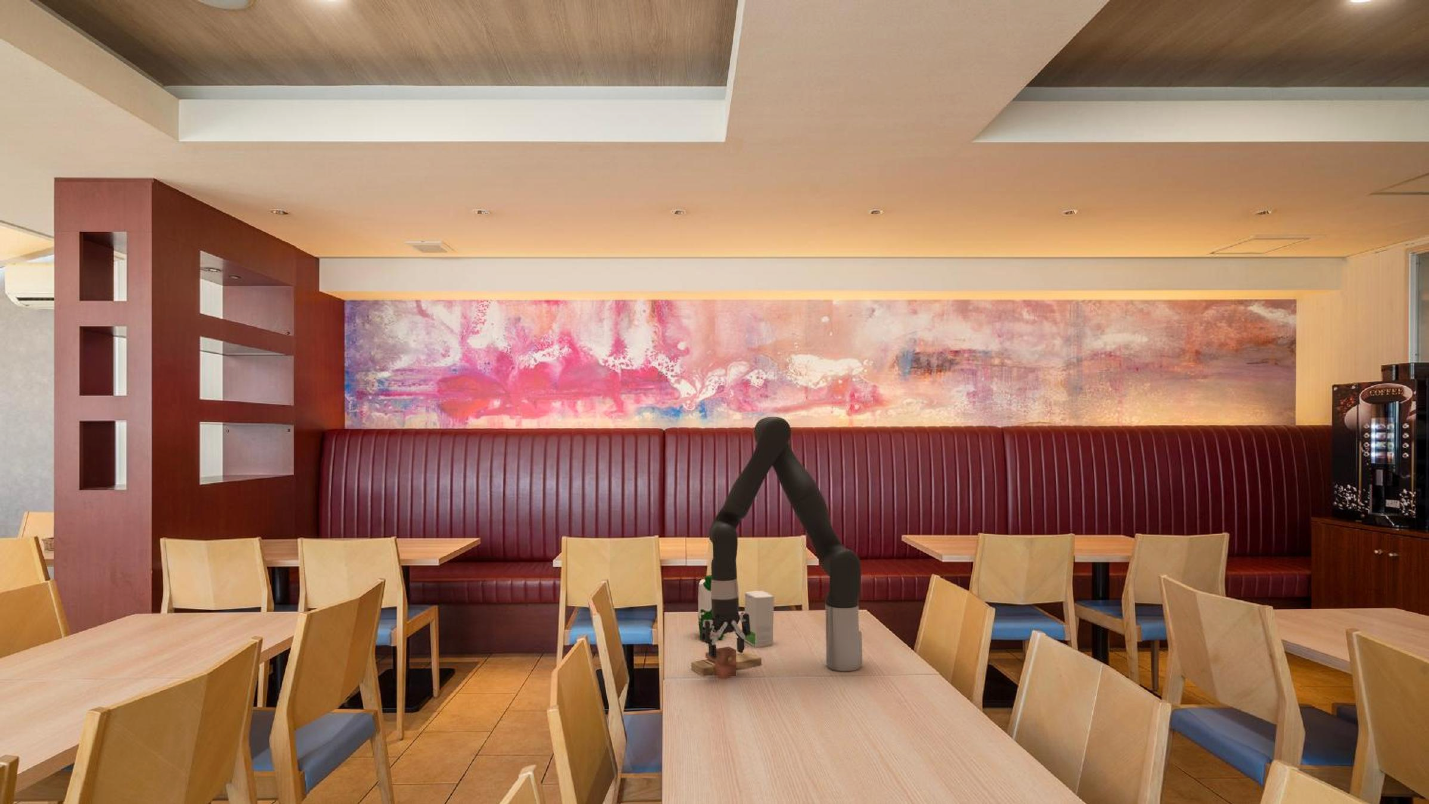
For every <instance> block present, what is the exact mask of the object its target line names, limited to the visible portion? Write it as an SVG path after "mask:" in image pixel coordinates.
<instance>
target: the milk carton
mask: <svg viewBox="0 0 1429 804" xmlns="http://www.w3.org/2000/svg"><path fill="white" fill-rule="evenodd" d="M711 582H712V576H711V574H707V575H705V576H704V578H703V579H701V580H699V583H698V587H697V588H698V590H697V591H698V593H697V601H698V602H697V603H698V605H697V606H698V607H697V608H698V609H697V610H698V613H697V614H698V616H697V617H698V618H697V619H698V622H697V623H698V629H699V631H698V632H699V638H700V639H699V640H701V637H702V620H703V619H705V620H711V619H712V616H713V615H712V604H711ZM713 627H714V626H713V625H711V628H710V634H711V631H712V629H713ZM717 632H718V631H716V633H717ZM724 635H725V634H721V636H720V638H718V640H717V641H722V640H723V639H724ZM701 641H702V640H701Z"/></svg>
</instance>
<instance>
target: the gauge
mask: <svg viewBox="0 0 1429 804" xmlns="http://www.w3.org/2000/svg"><path fill="white" fill-rule="evenodd" d="M704 654H705V655H704V656H705V657H704V658H706V659H709V660H711V661H713V662H715V674H714V676H716V677H718V678H719V679H722V680H723V679H724V680H725V679H729V678H734V677H737V670H736V654H737V649H735V648H733V647H730V646H728V645H727V646H723V647H716V654H717V658H715V659H713V658H711V656H709V651H707V652H704Z"/></svg>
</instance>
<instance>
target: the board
mask: <svg viewBox="0 0 1429 804" xmlns="http://www.w3.org/2000/svg"><path fill="white" fill-rule="evenodd" d="M762 663H763V662H762V657H761V656H759V655H757V654H754V653H753V652H750V651H745V652H744V651H743V653H739V652H738V653H736V671H738V670H742V669H748V668H752V667H757V666H761V665H762ZM690 670H692V672H696V673H697V674H699V675H700V676H702V677H706V676H711V675H715V662H713V661H711V660H709V659H707V658H706V659H700V660H696V661H694V660H693V661H691V662H690Z"/></svg>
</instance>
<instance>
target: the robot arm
mask: <svg viewBox="0 0 1429 804" xmlns="http://www.w3.org/2000/svg"><path fill="white" fill-rule="evenodd" d="M753 436H754V439H755V441H756V446H755V449H754V450H753V452H752V454H751V457H750V458H749V460H748V462H747V464H746V465H745V466H744V468H743V470H742V471H741V473H740V474H739V475H738V477H737V478H736V480H735V481H734V483H733V485H732V487H731V489H730V491H729V492H728V494H727V497H726V499H725V500H724V504H723V506H722V508H721V509H720V510H719V512H718V513H717V514H716V516H715V518H714V519H713V521H712V523H711V525H710V527H709V530H708V538H709V540H710V542H711V543H712V559H711V564H710V565H711V566H710V571H711V573H710V575H711V576H712V582H711V604H712V615H713V616H712V619H711V620H705V619H703V620H702V637H701V642H703V643H705V644H708V652H709V656H711V658H713V659H715V658H717V654H716V649H717V644H716V643H717V641H719V640H718V638H720V636H721V634H724V635H726V634H729V633H730V634H733V633H734V634H735V635H736V652H738V653H743V652H744V651H745V648H746V646H745V641H744V638H745V637H746V636H747V635H748V636H749V635H750V634H751V632H750V621H749V614H747V613H745V611H744V612H741V613H739V612H740V602H739V601H740V599H739V593H740V592H739V583H738V568H737V567H738V566H737V557H738V546H739V545H738V531H737V529H738V526H739V525H740V523H741V521H742V519H745V518H746V517H747V514H749V511H750V510H751V507H752V505H753V503H754V501H755V499H756V496H757V495H758V493H759V490H760V488H761V486H762V484H763V482H764V481H765V479H766V477H767V475H768V473H769V471H770V470H771V468H772V469H773V470H774V473H775V474H776V477H777V479H778V482H779V484H780V485H781V488H782V489H783V491H784V494H785V496H786V498H787V501H788V503H789V504H790V507H792V510H793V512H794V514H795V515H796V517H797V519H798V520H799V522H800V524H801V526H802V527H803V529H804V531H805V533H806V534H807V536H808V537H809V540H810V542H811V543H812V546H813V548H814V551H815V552H816V555H817V558H818V560H819V563H820V566H821V569H822V570H823V572H824V573H825V574H826V575H827V576H829V588H828V589H829V590H828V592H826V594H825V601H824V602H825V603H824V604H825V605H824V606H825V607H824V608H825V655H826V656H825V657H826V658H825V659H826V660H825V661H826V663H825V664H826V667H827V668H828V669H830V670H834V671H839V672H851V671H857V670H858V669H860V668H861V667H863V637H862V636H863V634H862V632H861V631H860V628H859V627H860V625H859V624H860V623H859V622H860V620H859V618H860V617H859V599H860V596H861V593H862V592H861V591H862V565H861V560H860V557H859V556H858V554H857V553H856V552H855V551H853V550H851V549H849V548H846V547H845V546H844V544H843V543H842V542H841V540H840V539H839V537H838V535H837V533H836V532H835V530H834V528H833V525H832V523H831V520H830V519H831V518H830V514H829V509H828V506H827V505H828V504H827V503H826V500H825V498H824V495H823V493H822V491H821V489H820V488H819V486H818V484H817V483H816V481H815V479H814V478H813V477H812V475H811V473H810V472H808V471H807V469H806V468H805V467H804V465H802V463H801V462H800V460H798V459H799V458H798V457H797V456H796V455H795V453H794V451H793V449H792V446H791V444H790V440H791V437H792V428H791V426H790V424H789V422H788V421H787V420H786V419H785V418H782V417H780V416H766V417H762V418H761V419H760V420H758V421H757V422H756V424H755V426H754V429H753ZM739 623H741V627H740V626H739V625H738V624H739ZM711 625H713V626H714V627H713V629H712V631H711V634H710V628H711ZM716 631H718V632H717V633H716Z"/></svg>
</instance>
